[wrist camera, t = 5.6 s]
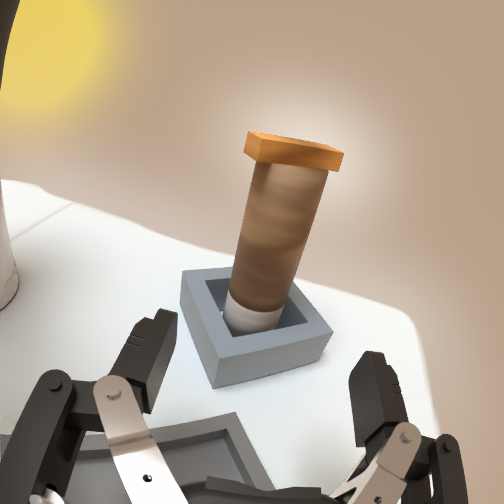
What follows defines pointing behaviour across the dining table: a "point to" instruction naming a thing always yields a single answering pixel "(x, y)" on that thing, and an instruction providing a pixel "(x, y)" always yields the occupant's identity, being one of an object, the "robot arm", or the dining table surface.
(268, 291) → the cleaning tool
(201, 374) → the dining table surface
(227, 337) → the tool holder
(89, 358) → the dining table surface
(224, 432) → the tool tray
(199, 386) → the dining table surface
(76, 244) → the dining table surface
